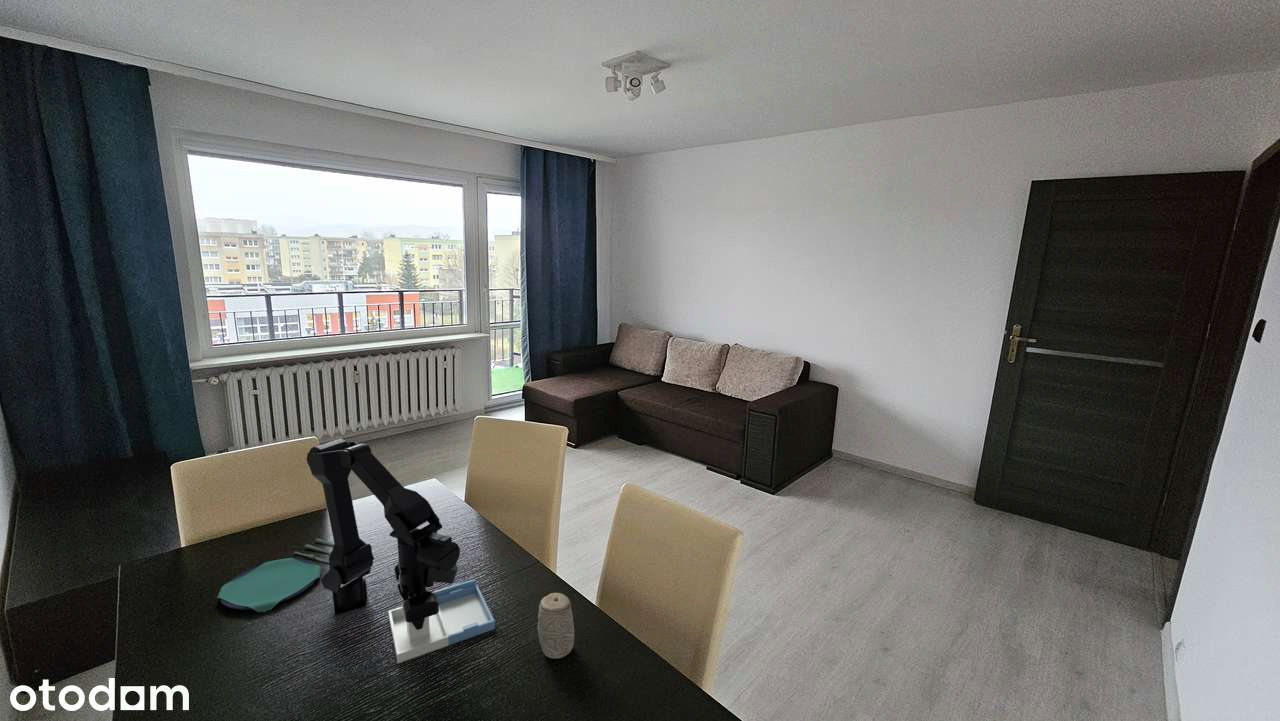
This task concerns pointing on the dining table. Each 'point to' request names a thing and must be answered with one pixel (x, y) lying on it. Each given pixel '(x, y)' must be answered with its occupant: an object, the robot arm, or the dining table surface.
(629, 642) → the dining table surface
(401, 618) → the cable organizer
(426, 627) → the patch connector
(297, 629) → the dining table surface
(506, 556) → the dining table surface
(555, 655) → the carving
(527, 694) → the dining table surface
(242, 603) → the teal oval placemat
